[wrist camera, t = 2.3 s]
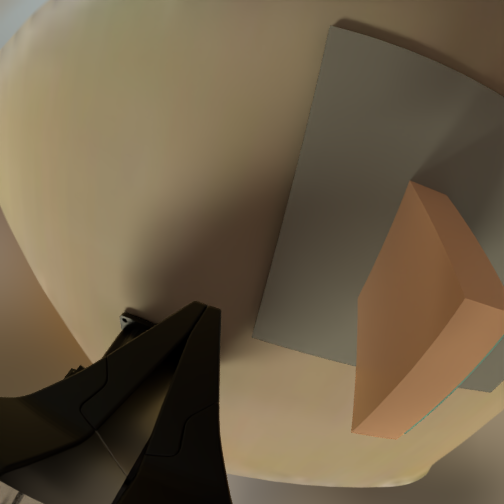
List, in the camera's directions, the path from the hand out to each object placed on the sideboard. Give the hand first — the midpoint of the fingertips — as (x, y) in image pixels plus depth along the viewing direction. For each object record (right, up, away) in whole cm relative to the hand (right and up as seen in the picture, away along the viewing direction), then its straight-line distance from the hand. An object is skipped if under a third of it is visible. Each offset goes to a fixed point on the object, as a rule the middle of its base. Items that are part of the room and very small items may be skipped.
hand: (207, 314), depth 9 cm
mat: (+13, +1, +5) cm, 14 cm away
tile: (+9, +2, +5) cm, 10 cm away
